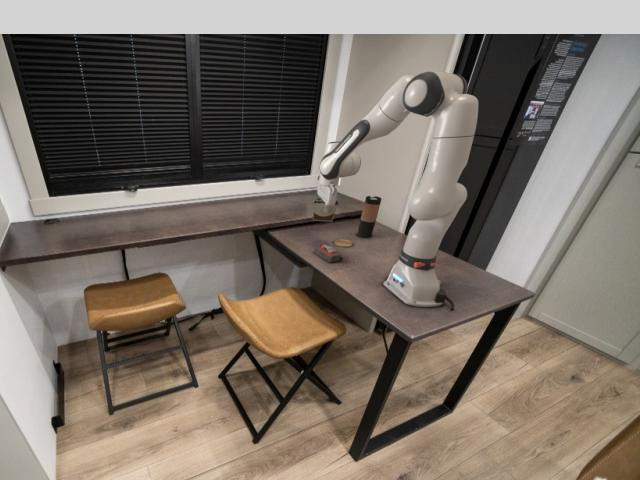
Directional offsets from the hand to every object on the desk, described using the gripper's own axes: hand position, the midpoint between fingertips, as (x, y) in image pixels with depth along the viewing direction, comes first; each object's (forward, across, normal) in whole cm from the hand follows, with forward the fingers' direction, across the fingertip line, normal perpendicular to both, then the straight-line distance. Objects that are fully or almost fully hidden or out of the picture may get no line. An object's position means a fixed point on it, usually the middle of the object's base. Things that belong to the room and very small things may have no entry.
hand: (323, 209), depth 151 cm
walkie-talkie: (+16, -16, +1) cm, 23 cm away
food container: (+5, +1, 0) cm, 5 cm away
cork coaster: (+16, -4, -12) cm, 20 cm away
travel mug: (+16, +7, -27) cm, 32 cm away
